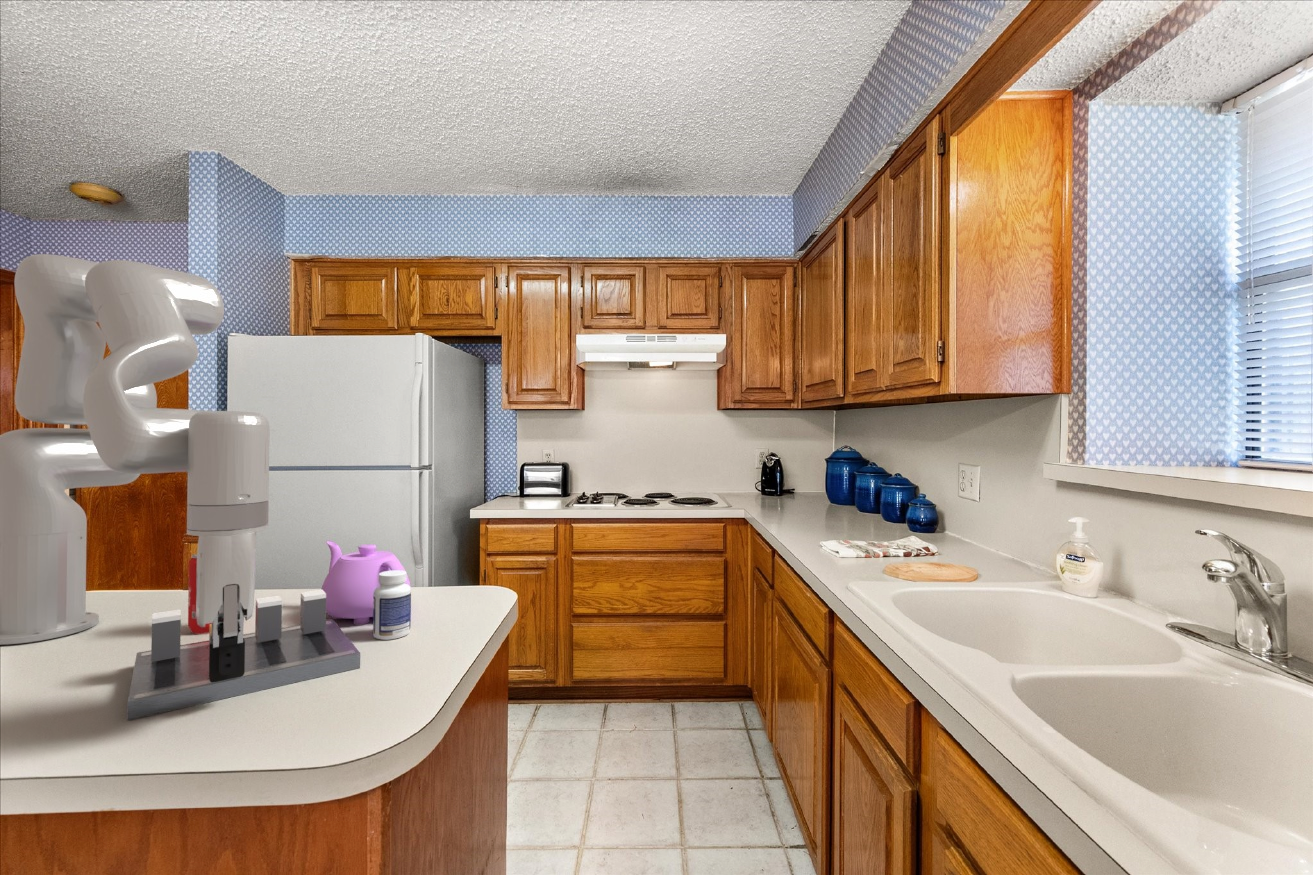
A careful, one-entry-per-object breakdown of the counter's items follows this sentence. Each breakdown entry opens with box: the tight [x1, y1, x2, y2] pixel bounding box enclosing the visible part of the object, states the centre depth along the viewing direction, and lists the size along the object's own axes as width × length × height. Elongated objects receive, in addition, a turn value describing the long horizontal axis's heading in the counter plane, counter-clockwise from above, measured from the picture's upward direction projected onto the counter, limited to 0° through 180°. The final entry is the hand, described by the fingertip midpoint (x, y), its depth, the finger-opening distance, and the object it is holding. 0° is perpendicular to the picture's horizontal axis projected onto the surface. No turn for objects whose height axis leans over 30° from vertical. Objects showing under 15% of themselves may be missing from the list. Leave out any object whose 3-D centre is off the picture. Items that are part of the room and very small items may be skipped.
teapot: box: [320, 540, 412, 626], centre depth 100 cm, size 20×14×12 cm
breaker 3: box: [299, 589, 327, 634], centre depth 84 cm, size 3×3×5 cm
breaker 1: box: [150, 609, 182, 662], centre depth 74 cm, size 3×3×5 cm
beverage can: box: [187, 553, 212, 635], centre depth 91 cm, size 5×5×12 cm
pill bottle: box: [372, 570, 412, 641], centre depth 90 cm, size 5×5×10 cm
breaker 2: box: [254, 595, 283, 643], centre depth 81 cm, size 3×3×5 cm
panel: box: [126, 618, 361, 721], centre depth 76 cm, size 18×23×2 cm
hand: (226, 676), depth 66 cm, fingers closed
